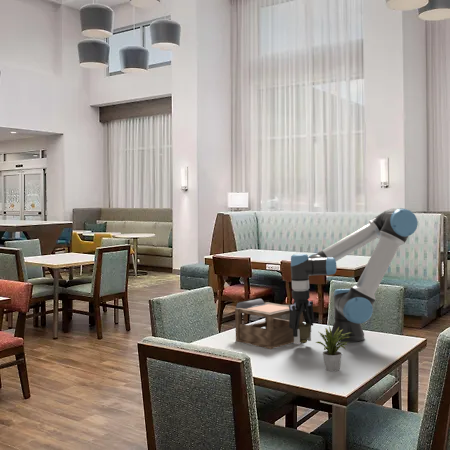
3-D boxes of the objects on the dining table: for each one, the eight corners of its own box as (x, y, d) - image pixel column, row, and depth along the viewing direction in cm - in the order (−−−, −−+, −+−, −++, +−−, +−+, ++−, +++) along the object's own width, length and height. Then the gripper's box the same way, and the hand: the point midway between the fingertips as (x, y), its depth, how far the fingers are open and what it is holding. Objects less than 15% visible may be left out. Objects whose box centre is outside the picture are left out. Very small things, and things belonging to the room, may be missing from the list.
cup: (292, 341, 247) (292, 323, 247) (309, 340, 248) (308, 322, 247) (296, 345, 240) (295, 326, 239) (313, 344, 240) (312, 325, 240)
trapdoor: (292, 313, 257) (291, 303, 257) (269, 318, 247) (269, 307, 246) (257, 308, 273) (257, 298, 273) (235, 312, 263) (235, 302, 263)
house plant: (345, 378, 200) (344, 332, 199) (308, 373, 207) (307, 329, 206) (356, 367, 212) (355, 324, 212) (321, 363, 219) (320, 321, 218)
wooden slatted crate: (303, 339, 257) (302, 307, 256) (270, 349, 242) (270, 314, 242) (268, 332, 273) (267, 302, 273) (235, 340, 258) (235, 308, 258)
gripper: (308, 286, 252) (310, 336, 253) (278, 292, 239) (281, 345, 240) (321, 287, 247) (323, 338, 248) (292, 293, 233) (294, 348, 234)
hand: (302, 341), depth 244 cm, fingers closed on cup, 7 cm apart
